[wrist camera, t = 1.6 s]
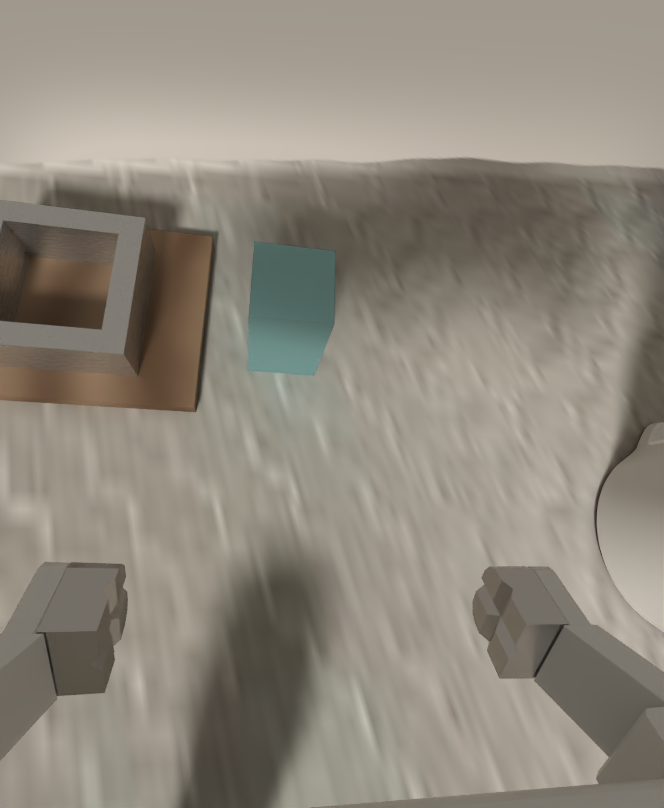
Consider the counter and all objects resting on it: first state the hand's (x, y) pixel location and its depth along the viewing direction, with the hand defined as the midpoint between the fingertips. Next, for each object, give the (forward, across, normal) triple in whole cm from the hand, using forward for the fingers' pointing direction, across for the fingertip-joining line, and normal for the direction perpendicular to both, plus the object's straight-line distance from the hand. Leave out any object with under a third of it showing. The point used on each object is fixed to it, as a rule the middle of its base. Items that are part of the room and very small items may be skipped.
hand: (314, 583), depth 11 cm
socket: (+27, +14, +3) cm, 31 cm away
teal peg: (+27, -1, +5) cm, 28 cm away
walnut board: (+28, +14, +4) cm, 32 cm away
